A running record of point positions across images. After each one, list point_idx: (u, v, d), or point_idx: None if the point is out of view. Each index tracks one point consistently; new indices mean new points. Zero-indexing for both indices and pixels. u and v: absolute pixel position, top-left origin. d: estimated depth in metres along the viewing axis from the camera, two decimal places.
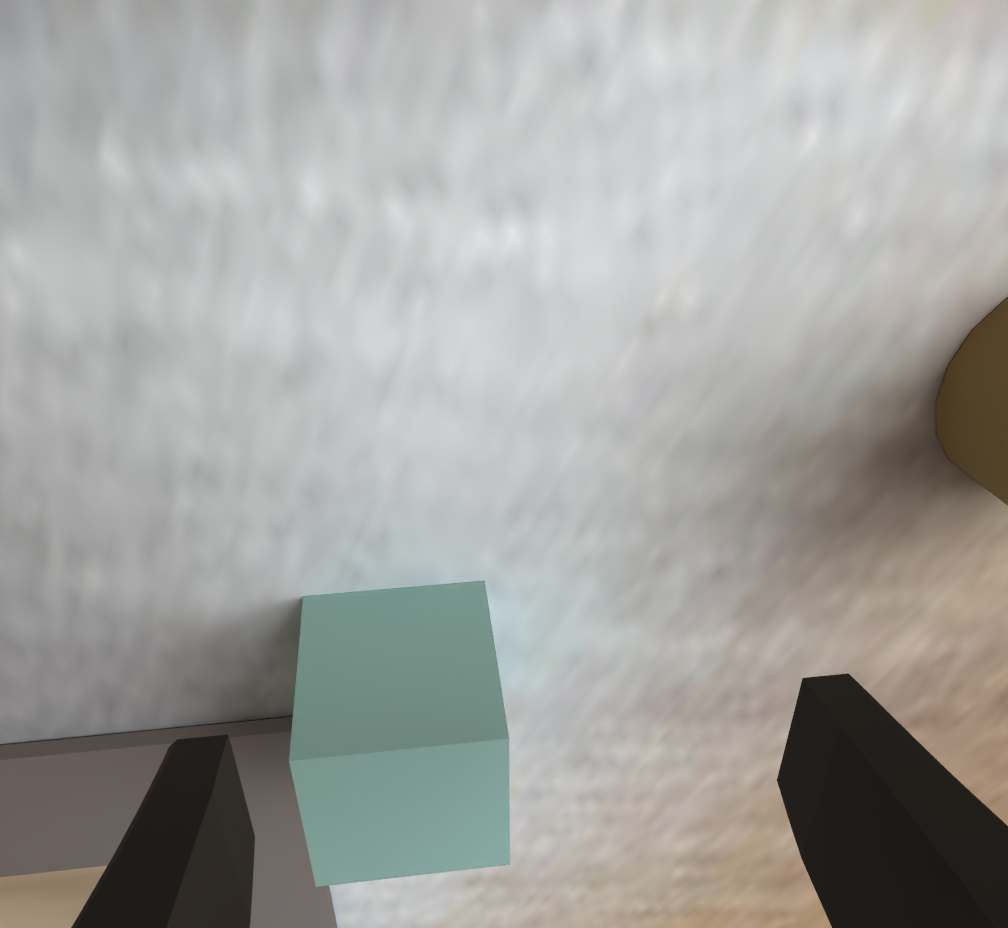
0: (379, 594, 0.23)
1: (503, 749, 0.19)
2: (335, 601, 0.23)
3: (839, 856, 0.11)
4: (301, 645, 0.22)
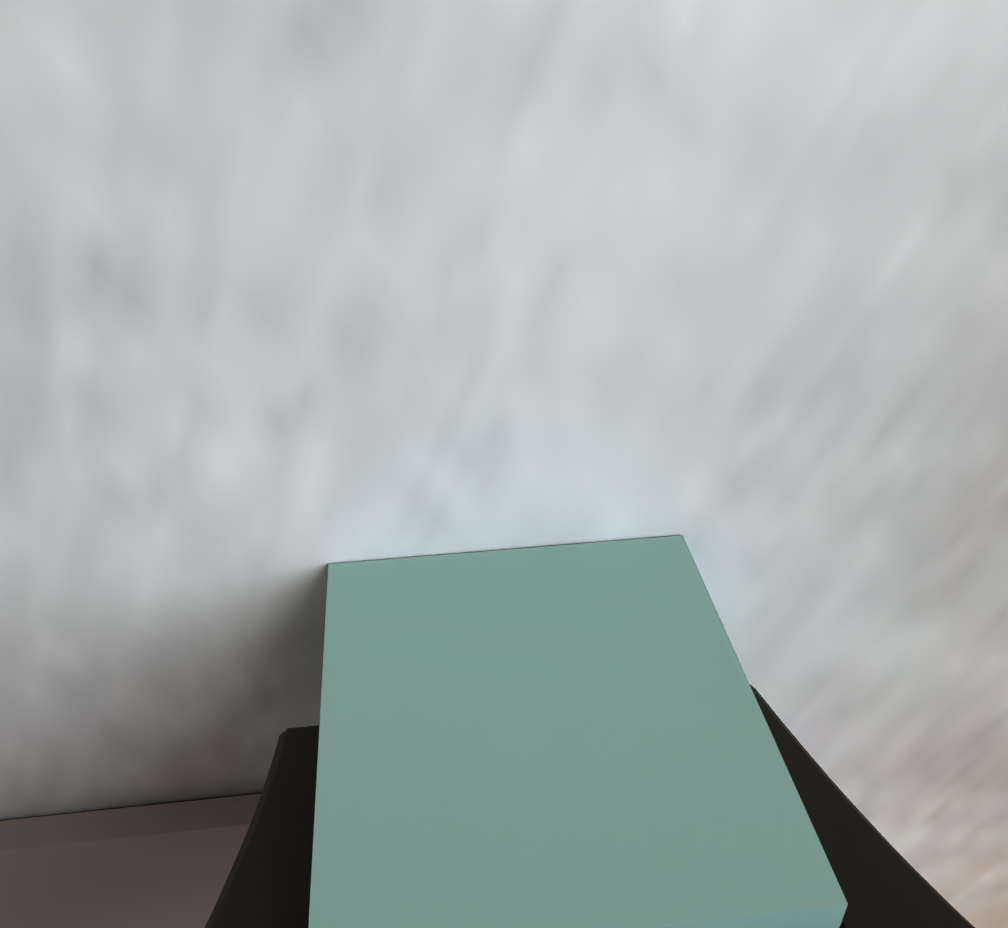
0: (480, 563, 0.11)
1: (827, 927, 0.08)
2: (394, 577, 0.11)
3: None
4: (328, 666, 0.10)
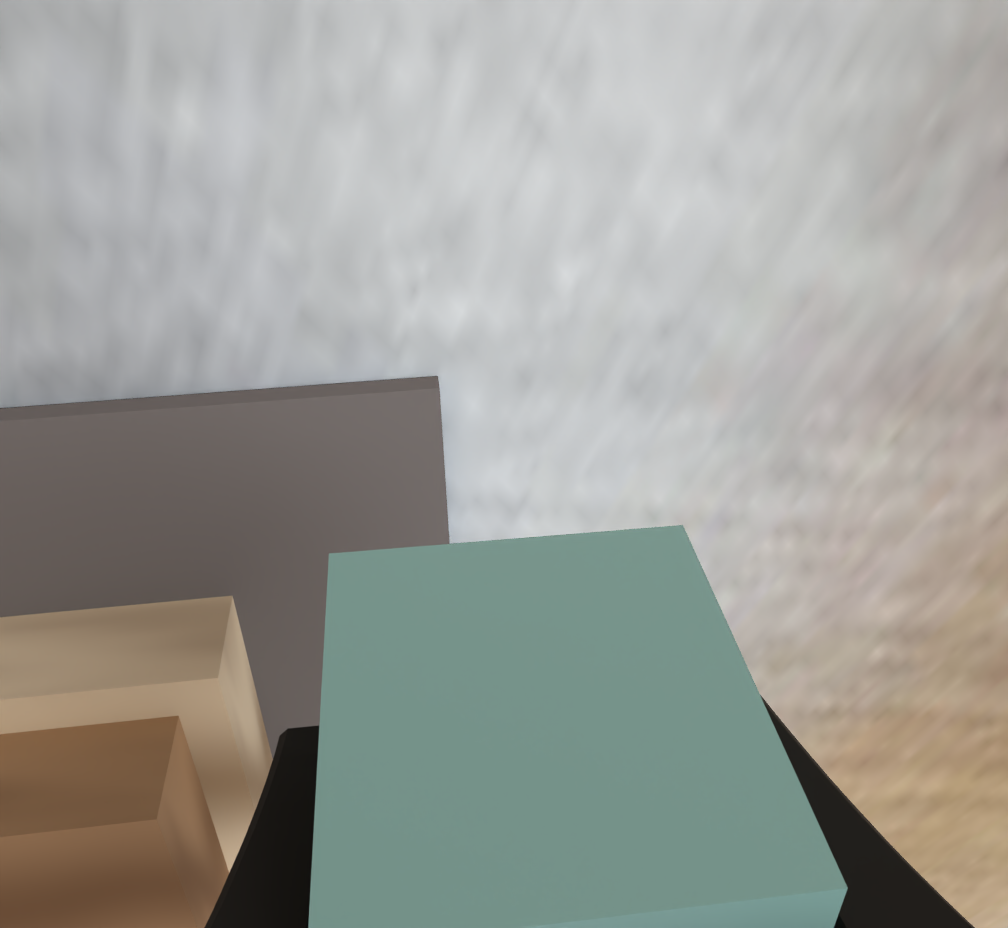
0: (481, 553, 0.11)
1: (827, 911, 0.08)
2: (394, 566, 0.11)
3: None
4: (330, 653, 0.10)
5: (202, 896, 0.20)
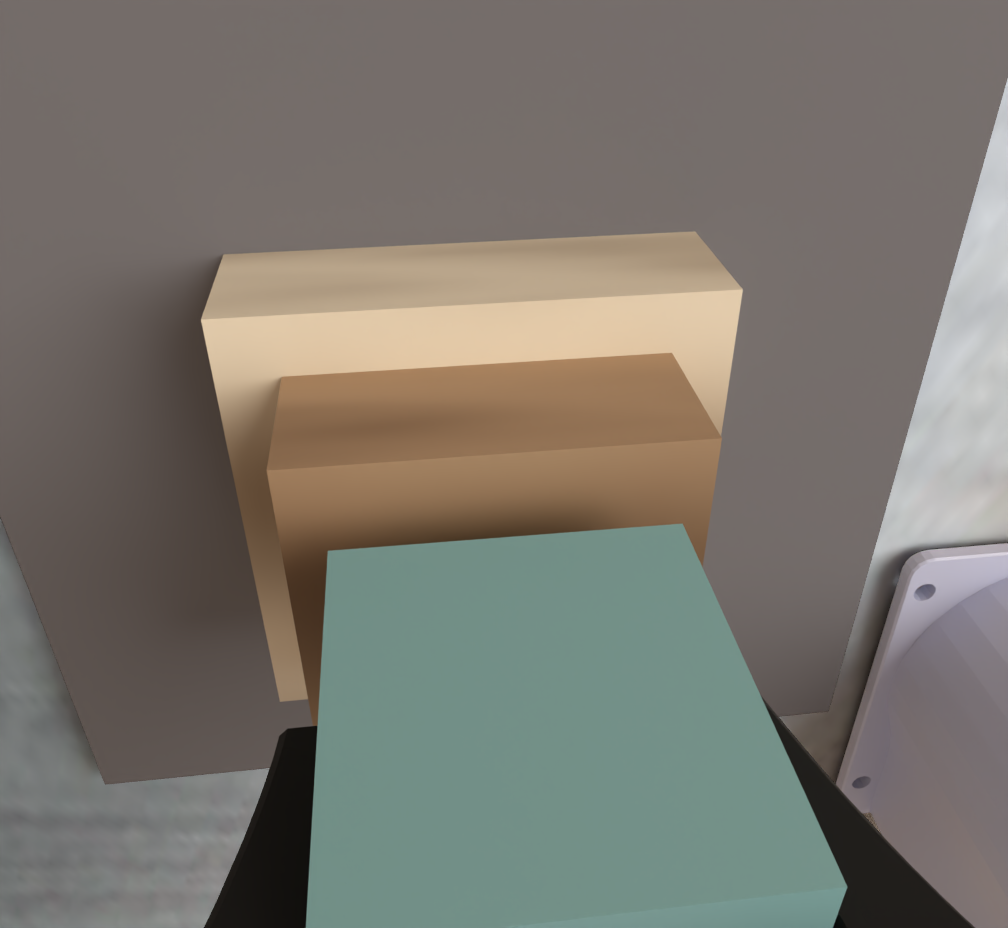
0: (480, 551, 0.11)
1: (827, 910, 0.08)
2: (393, 564, 0.11)
3: None
4: (327, 651, 0.10)
5: None
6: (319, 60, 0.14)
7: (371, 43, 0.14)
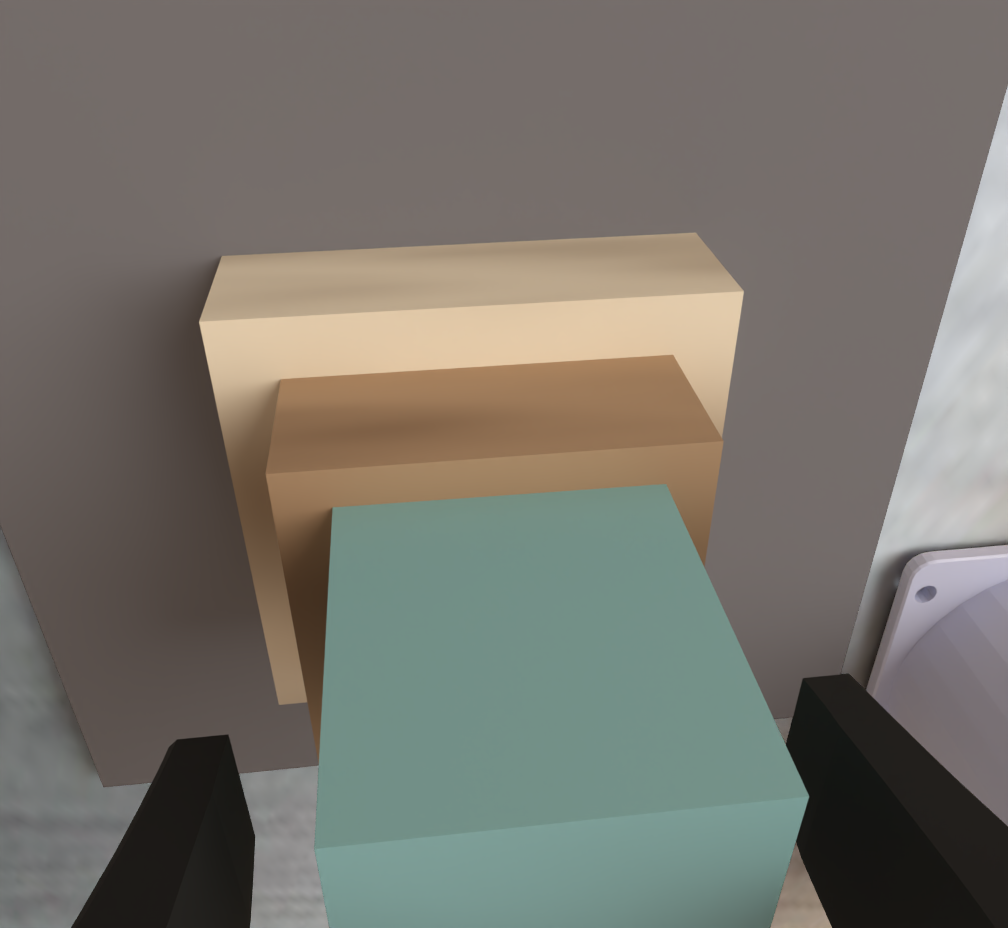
0: (475, 508, 0.12)
1: (791, 819, 0.09)
2: (394, 519, 0.12)
3: (838, 856, 0.11)
4: (333, 595, 0.11)
5: None
6: (317, 60, 0.14)
7: (370, 44, 0.14)
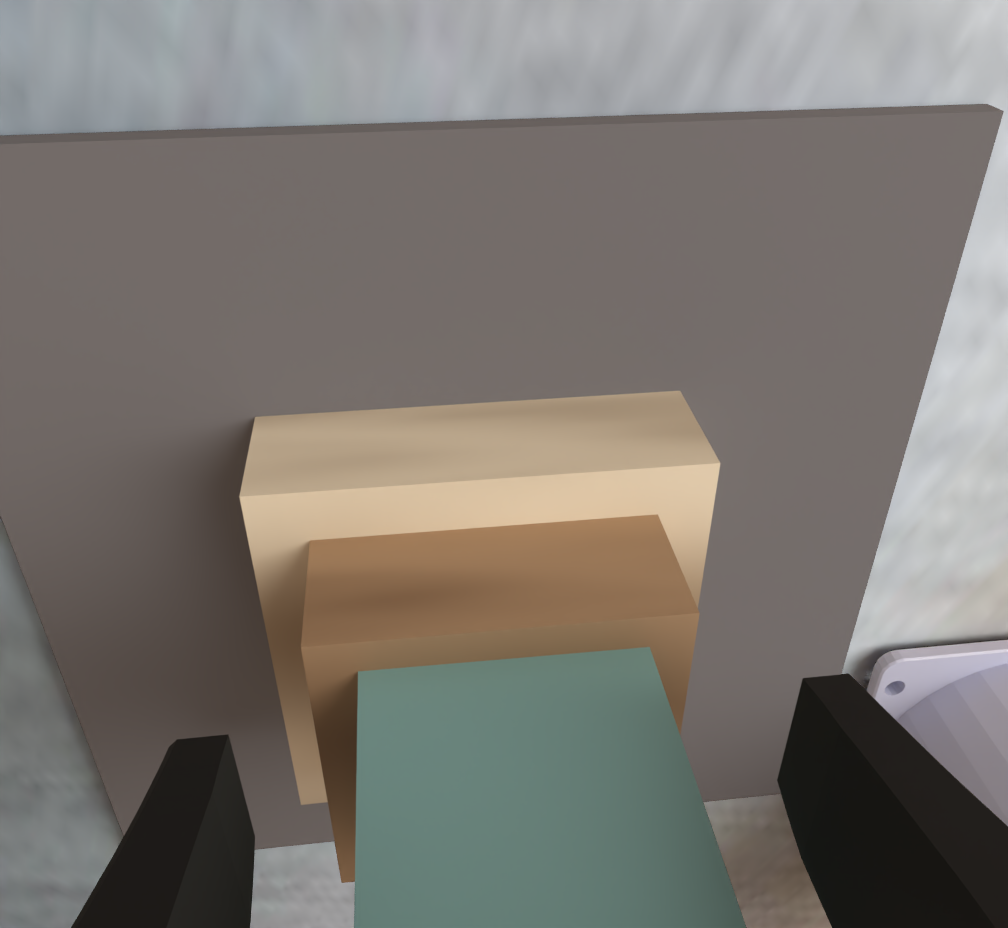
0: (483, 672, 0.14)
1: None
2: (412, 684, 0.14)
3: (839, 856, 0.11)
4: (361, 765, 0.13)
5: None
6: (343, 259, 0.16)
7: (390, 245, 0.16)
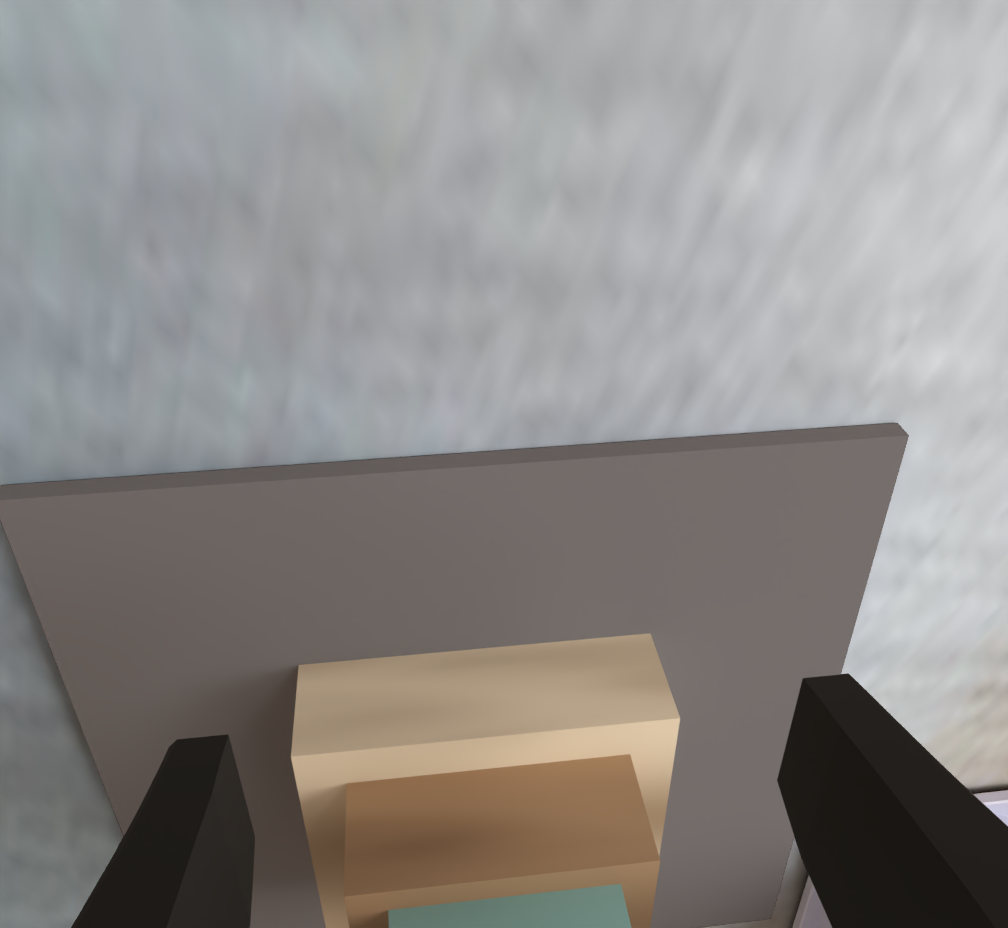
0: (488, 910, 0.18)
1: None
2: (431, 923, 0.17)
3: (839, 856, 0.11)
4: None
5: None
6: (373, 556, 0.19)
7: (411, 545, 0.19)
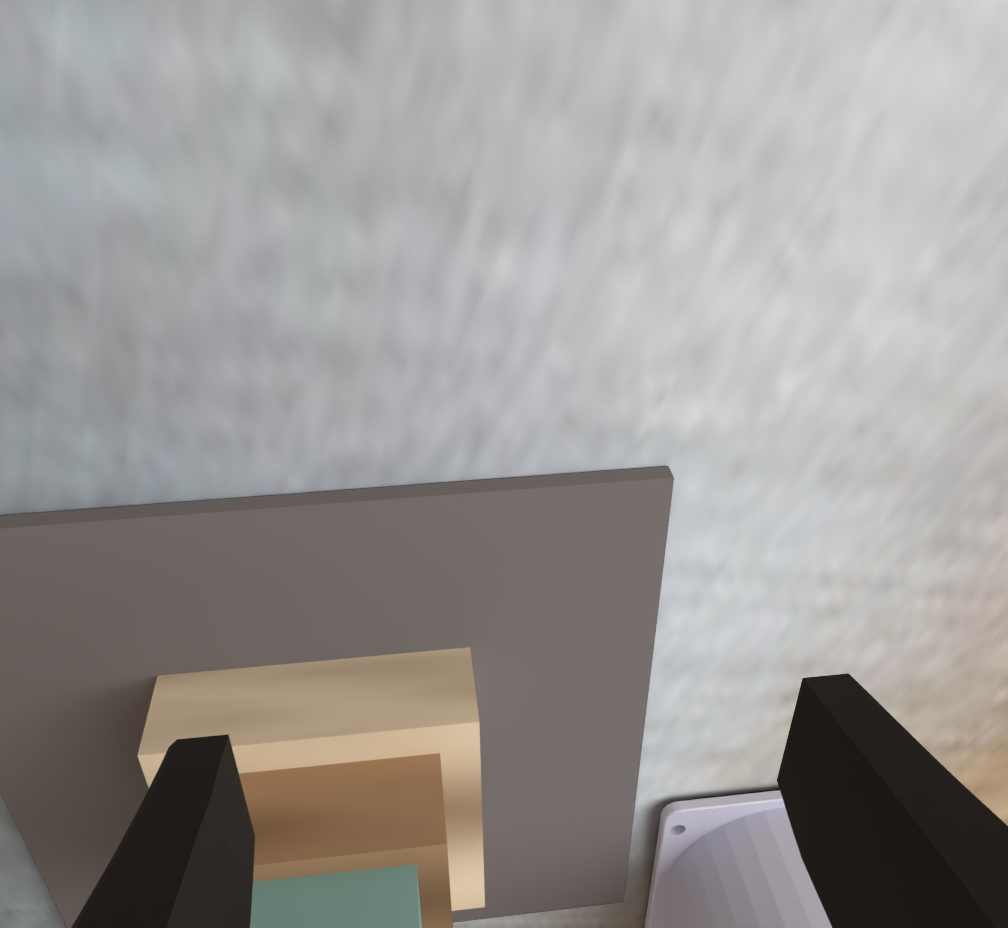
0: (298, 886, 0.21)
1: None
2: None
3: (839, 856, 0.11)
4: None
5: None
6: (212, 582, 0.22)
7: (245, 572, 0.22)
